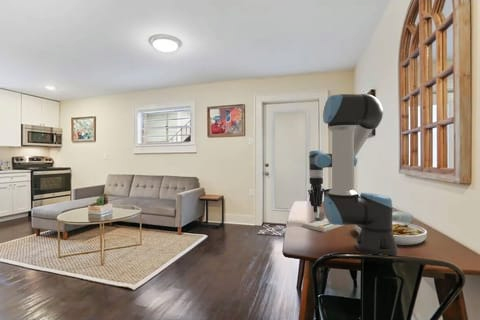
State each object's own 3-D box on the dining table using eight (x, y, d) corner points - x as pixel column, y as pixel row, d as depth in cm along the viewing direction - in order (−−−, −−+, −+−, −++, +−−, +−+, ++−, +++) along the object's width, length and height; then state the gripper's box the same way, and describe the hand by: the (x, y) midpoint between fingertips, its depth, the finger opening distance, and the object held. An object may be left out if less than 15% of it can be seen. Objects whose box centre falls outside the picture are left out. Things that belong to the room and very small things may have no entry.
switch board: (323, 231, 133) (323, 227, 133) (301, 226, 144) (301, 222, 144) (345, 224, 147) (345, 221, 147) (324, 220, 158) (324, 216, 158)
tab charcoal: (320, 220, 148) (319, 213, 148) (314, 219, 151) (314, 212, 151) (323, 219, 151) (323, 212, 151) (318, 218, 153) (318, 211, 153)
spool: (406, 217, 149) (407, 204, 145) (417, 229, 141) (417, 215, 136) (382, 222, 151) (382, 209, 146) (391, 234, 142) (391, 221, 138)
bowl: (412, 230, 135) (412, 215, 135) (439, 250, 106) (439, 231, 106) (351, 227, 143) (350, 213, 143) (361, 244, 114) (360, 227, 114)
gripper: (317, 176, 156) (317, 214, 156) (303, 177, 148) (304, 218, 148) (328, 176, 150) (328, 216, 150) (315, 178, 142) (315, 220, 142)
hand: (316, 217), depth 149 cm, fingers closed
